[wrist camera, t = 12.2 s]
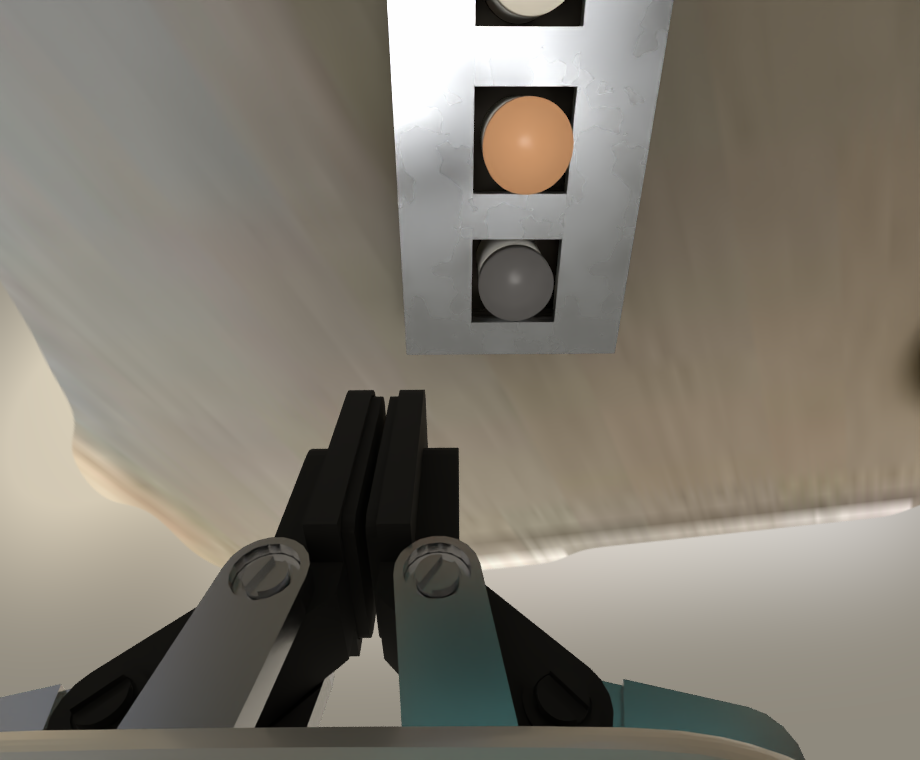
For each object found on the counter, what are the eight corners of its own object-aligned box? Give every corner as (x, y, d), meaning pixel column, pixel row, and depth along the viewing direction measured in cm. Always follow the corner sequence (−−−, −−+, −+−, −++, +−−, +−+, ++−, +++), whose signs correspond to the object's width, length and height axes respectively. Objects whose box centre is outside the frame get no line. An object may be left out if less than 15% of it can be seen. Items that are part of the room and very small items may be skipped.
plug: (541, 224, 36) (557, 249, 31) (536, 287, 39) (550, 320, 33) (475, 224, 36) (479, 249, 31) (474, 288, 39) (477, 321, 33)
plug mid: (556, 93, 31) (578, 96, 26) (550, 176, 33) (568, 194, 28) (478, 93, 31) (484, 96, 26) (477, 176, 33) (482, 194, 28)
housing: (656, -140, 28) (705, -191, 22) (593, 318, 41) (614, 353, 35) (390, -142, 27) (376, -194, 22) (412, 318, 40) (406, 354, 35)
